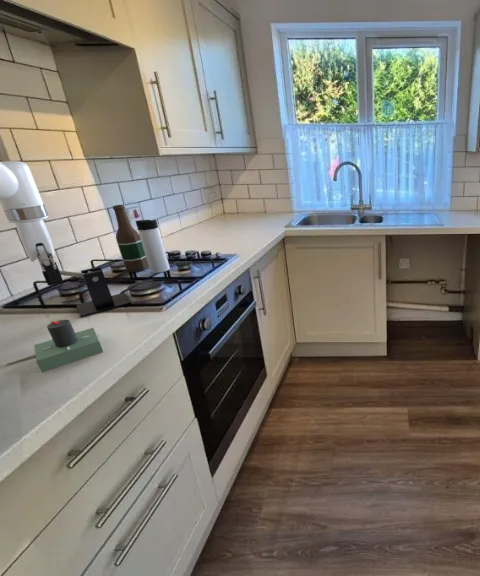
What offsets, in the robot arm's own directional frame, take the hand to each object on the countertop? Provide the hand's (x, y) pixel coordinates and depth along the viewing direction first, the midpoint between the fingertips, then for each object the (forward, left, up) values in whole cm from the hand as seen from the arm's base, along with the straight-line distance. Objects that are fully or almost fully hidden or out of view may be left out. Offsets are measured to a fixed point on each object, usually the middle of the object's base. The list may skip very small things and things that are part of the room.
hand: (54, 280), depth 97 cm
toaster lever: (+4, 0, -1) cm, 4 cm away
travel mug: (+28, +21, -12) cm, 37 cm away
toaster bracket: (+8, 0, -11) cm, 14 cm away
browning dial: (-2, -24, -8) cm, 25 cm away
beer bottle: (+23, +32, -12) cm, 41 cm away
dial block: (-2, -24, -11) cm, 27 cm away
